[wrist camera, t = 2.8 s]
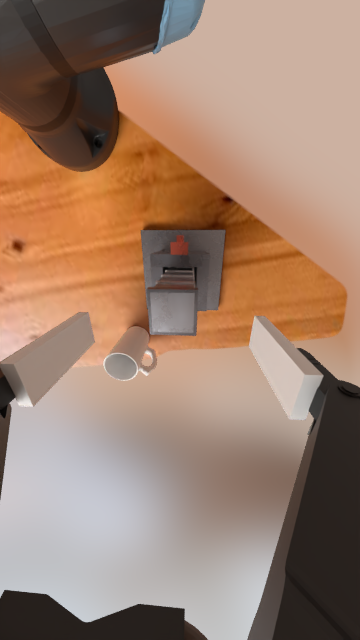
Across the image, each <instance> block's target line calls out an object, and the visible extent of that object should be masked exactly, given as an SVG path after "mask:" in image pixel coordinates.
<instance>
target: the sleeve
mask: <svg viewBox="0 0 360 640" xmlns="http://www.w3.org/2000/svg"><path fill="white" fill-rule="evenodd" d="M141 239H142V251H143V264H144V276H145V289H147V288H148V287H155V285H156V281H159V280H160V279H161V275H162V274H165V270H168V267H194V275H195V279H194V281H195V288H198V306H197V311H206V310H218V305H219V295H220V284H221V273H222V262H223V252H224V241H225V230H141ZM146 301H147V291H146ZM147 309H148V303H147Z"/></svg>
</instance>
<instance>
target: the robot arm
mask: <svg viewBox="0 0 360 640" xmlns="http://www.w3.org/2000/svg"><path fill="white" fill-rule="evenodd" d="M204 2H205V0H0V111H1V112H2V113H4V114H5V115H7V116H8V117H10V118H11V119H13V120H14V121H16V122H17V123H18V124H19V125H20V126H21V127H22V129H23V130H24V131H25V132H27V134H28V135H29V137H30V138H31V139H32V141H33V142H34V143H35V144H36V146H37V147H38V148H39V149H40V150H41V151H42V152H43V153H44V154H45V155H47V156H48V157H49V158H50V159H52V160H53V161H55V162H57V163H58V164H60V165H62V166H64V167H66V168H68V169H70V170H74V171H81V172H83V171H90V170H93V169H95V168H97V167H99V166H100V165H101V164H103V163H104V162H105V161H106V160H107V158H108V157H109V155H110V154H111V152H112V150H113V148H114V145H115V142H116V139H117V134H118V123H119V119H118V107H117V102H116V97H115V93H114V90H113V87H112V85H111V82H110V80H109V78H108V76H107V74H106V72H105V70H104V68H103V67H105V66H109V65H112V64H115V63H118V62H121V61H124V60H127V59H130V58H133V57H137V56H140V55H143V54H146V53H149V52H153V54H155V53H158V52H159V51H160V50H161V48H162V47H164V46H166V45H168V44H171V43H173V42H175V41H177V40H180V39H182V38H184V37H187V36H188V35H189V34H190V33H191V32H192V31H193V30H194V29H195V27H196V25H197V23H198V20H199V18H200V16H201V13H202V9H203V5H204ZM94 342H95V340H94V335H93V331H92V326H91V322H90V317H89V313H88V312H79V313H77V314H76V315H74V316H72V317H71V318H69V319H68V320H66V321H64V322H63V323H61V324H60V325H58V326H57V327H55V328H53V329H52V330H50V331H49V332H47V333H46V334H44V335H42V336H41V337H39V338H38V339H36V340H35V341H33V342H31V343H30V344H28V345H26V346H25V347H23V348H22V349H20V350H19V351H17V352H15V353H14V354H12V355H10V356H9V357H7V358H6V359H4V360H3V361H1V362H0V498H1V490H2V481H3V473H4V466H5V457H6V450H7V442H8V434H9V425H10V417H11V405H10V404H9V403H10V402H11V401H12V400H13V399H14V398H16V400H17V402H18V404H19V406H29V407H34V405H35V404H36V403H37V402H38V401H39V400H40V399H41V398H42V397H43V396H44V395H45V394H46V393H47V392H48V391H49V390H50V389H51V388H52V387H53V385H54V384H55V383H56V382H57V381H58V380H59V379H60V378H61V377H62V376H63V375H64V374H65V373H66V372H67V371H68V370H69V369H70V368H71V367H72V366H73V365H74V363H75V362H76V361H77V360H78V359H79V358H80V357H81V356H82V355H83V354H84V353H85V352H86V351H87V350H88V349H89V348H90V347H91V346H92V345H93V344H94ZM249 347H250V349H251V351H252V353H253V355H254V357H255V358H256V360H257V362H258V364H259V366H260V367H261V369H262V371H263V373H264V375H265V377H266V378H267V380H268V382H269V384H270V386H271V387H272V389H273V391H274V393H275V394H276V396H277V398H278V400H279V402H280V404H281V405H282V407H283V409H284V411H285V413H286V414H287V416H288V418H289V419H293V420H305V419H306V417H307V414H308V412H310V413H311V415H312V416H313V417H314V421H313V423H312V425H311V427H310V429H309V432H308V435H309V436H308V440H307V443H306V446H305V450H304V453H303V457H302V460H301V464H300V467H299V471H298V474H297V478H296V481H295V484H294V488H293V491H292V495H291V498H290V502H289V505H288V509H287V512H286V516H285V519H284V522H283V526H282V530H281V533H280V537H279V540H278V543H277V547H276V551H275V554H274V557H273V561H272V564H271V567H270V571H269V574H268V578H267V581H266V585H265V588H264V592H263V595H262V598H261V602H260V605H259V608H258V610H257V613H256V616H255V618H254V621H253V624H252V627H251V630H250V633H249V636H248V640H360V388H359V387H358V386H356V385H353V384H351V383H349V382H345V381H340V380H338V379H337V378H335V377H334V376H333V375H332V374H331V373H330V372H329V371H328V370H327V369H326V368H325V367H323V365H321V363H320V362H318V361H317V360H316V359H315V358H314V357H313V356H312V355H311V354H310V353H308V352H307V351H305V350H303V349H301V348H296V347H295V346H294V345H293V344H292V343H291V342H290V341H289V340H288V339H287V338H286V337H285V336H284V335H283V334H282V333H281V332H280V331H279V330H278V329H277V328H276V327H275V326H274V325H273V324H272V323H271V322H270V321H269V320H268V319H267V318H266V317H265V316H254V322H253V327H252V333H251V338H250V343H249ZM184 611H185V609H182V608H172V607H162V606H153V605H144V604H137V605H135V606H132V607H129V608H127V609H124V610H121V611H119V612H116V613H113V614H111V615H108V616H105V617H102V618H100V619H97V620H94V621H92V622H83V621H81V620H80V619H78V618H77V617H76V616H74V615H73V614H72V613H71V612H69V611H68V610H67V609H65V608H64V607H63V606H62V605H60V604H59V603H58V602H56V601H55V600H54V599H52V598H51V597H50V596H48V595H47V594H38V593H28V592H19V591H10V590H4V592H3V594H2V596H1V598H0V640H208V639H207V638H206V637H205V636H204V635H203V634H202V633H201V632H200V631H199V630H198V629H197V628H195V627H194V626H193V625H191V624H189V623H188V622H187V621H185V620H184V613H185V612H184Z"/></svg>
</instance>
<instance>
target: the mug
mask: <svg viewBox="0 0 360 640" xmlns="http://www.w3.org/2000/svg"><path fill="white" fill-rule="evenodd" d="M148 342H149V334H148V332H147V331H146V330H145V329H144V328H142V327H139V326H133V327H130V328H129V329H128V330H127V331H126V332H125V333H124V334H123V336H122V337H121V338H120V340H119V341H118V342H117V344H116V345H115V346H114V347H113V349H112V350H111V351H110V353H109V354H108V356H107V357H106V358H105V359H104V369H105V371H106V372H107V373H108V374H109V375H110V376H111V377H113V378H115V379H117V380H122V381H123V380H125V381H126V380H130V379H132V378H134V377H135V376H136V375H137V373H138V371H141V372H142V373H143V374H145V375H148V374H149V373H150V372H151V371H153V370H154V369H155V367H156V365H157V358H156V353H155V350H153V349H151V348H149V347H148ZM144 353H146V354H149V355H150V356H151V358H152V365H151V366H149V367H146V366H144V365H142V363H141V362H142V359H143V356H144Z"/></svg>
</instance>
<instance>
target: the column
mask: <svg viewBox="0 0 360 640" xmlns="http://www.w3.org/2000/svg"><path fill="white" fill-rule="evenodd" d="M194 279H195V275H194V267H168V270H165V274H162V275H161V279H160V280H159V281H156V285H155V287H148V288H147V289H146V291H147V303H148V316H149V329H150V334H151V335H189V336H196V330H197V306H198V288H195V281H194Z"/></svg>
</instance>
